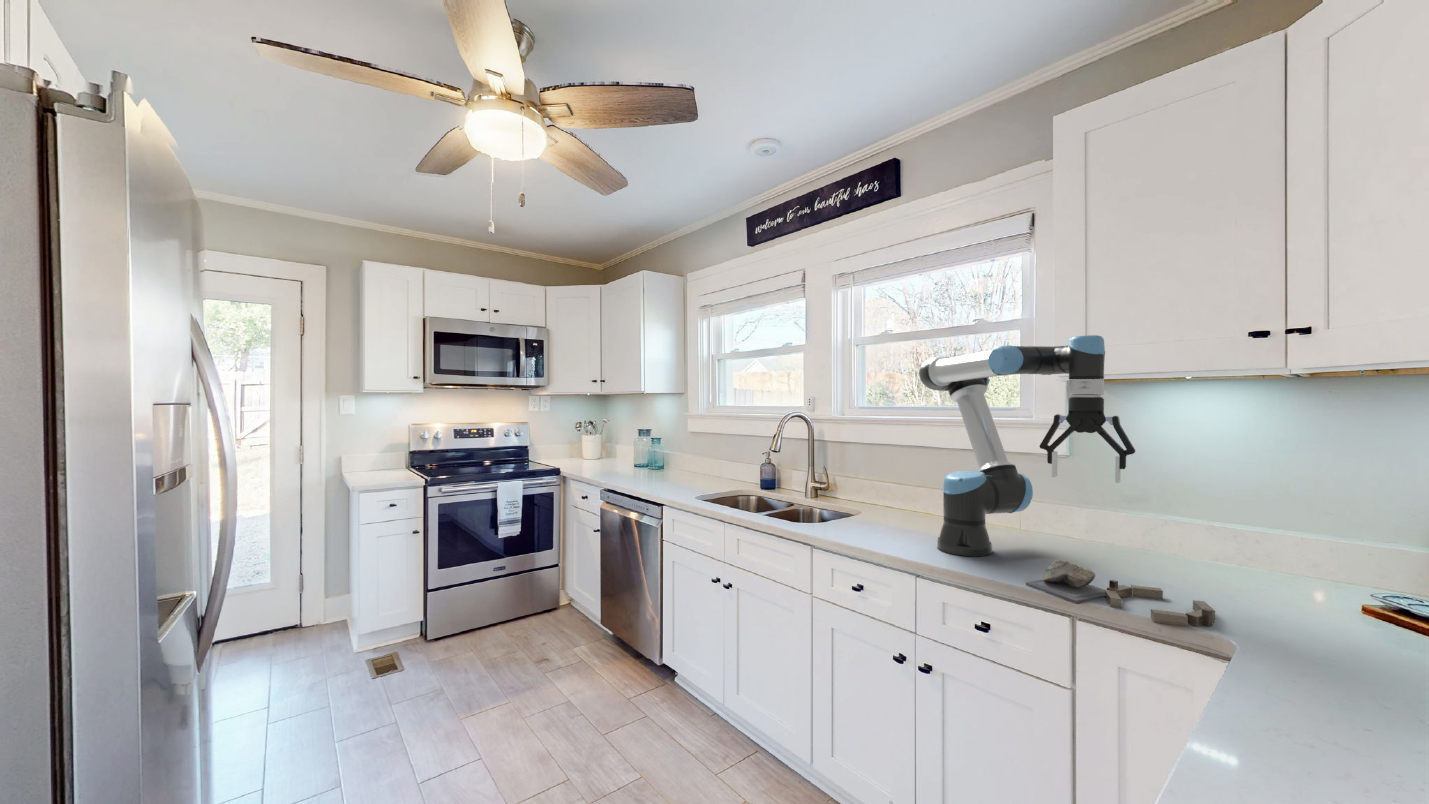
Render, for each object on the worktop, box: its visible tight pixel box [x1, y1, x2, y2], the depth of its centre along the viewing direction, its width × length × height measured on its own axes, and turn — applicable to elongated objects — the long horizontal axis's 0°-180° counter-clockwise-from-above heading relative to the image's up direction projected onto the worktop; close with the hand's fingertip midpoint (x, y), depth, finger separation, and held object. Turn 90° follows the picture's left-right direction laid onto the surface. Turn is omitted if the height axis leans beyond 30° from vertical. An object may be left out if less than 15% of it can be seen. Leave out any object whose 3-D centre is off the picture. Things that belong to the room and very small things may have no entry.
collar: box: [1104, 579, 1216, 628], centre depth 121 cm, size 20×17×3 cm
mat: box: [1025, 579, 1106, 604], centre depth 133 cm, size 13×13×1 cm
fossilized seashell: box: [1041, 560, 1096, 588], centre depth 133 cm, size 11×11×7 cm
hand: (1085, 479), depth 141 cm, fingers open, 13 cm apart
